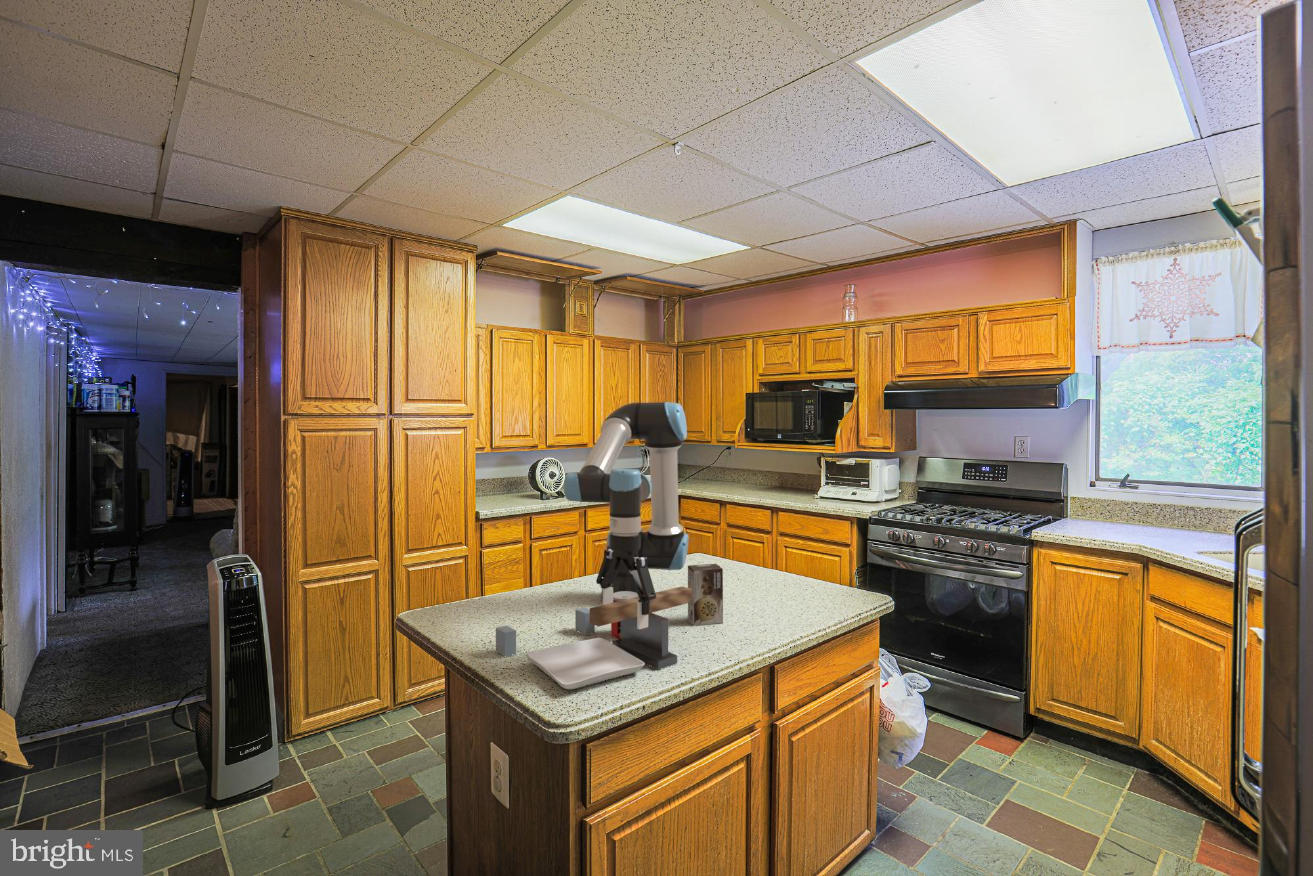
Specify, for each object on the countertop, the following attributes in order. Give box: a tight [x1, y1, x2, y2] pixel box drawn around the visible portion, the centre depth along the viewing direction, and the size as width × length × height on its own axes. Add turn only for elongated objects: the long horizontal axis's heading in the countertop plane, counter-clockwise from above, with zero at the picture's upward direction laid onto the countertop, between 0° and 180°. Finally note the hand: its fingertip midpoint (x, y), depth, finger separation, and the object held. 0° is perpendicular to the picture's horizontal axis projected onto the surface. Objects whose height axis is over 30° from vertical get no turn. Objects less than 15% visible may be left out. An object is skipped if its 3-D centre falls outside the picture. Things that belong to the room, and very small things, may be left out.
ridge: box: [611, 612, 678, 670], centre depth 154 cm, size 6×18×11 cm, turn 41°
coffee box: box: [687, 563, 724, 626], centre depth 181 cm, size 9×6×16 cm
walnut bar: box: [589, 585, 692, 628], centre depth 154 cm, size 30×4×4 cm, turn 131°
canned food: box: [610, 591, 639, 640], centre depth 169 cm, size 8×8×11 cm
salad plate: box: [525, 637, 646, 690], centre depth 145 cm, size 21×21×3 cm
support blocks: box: [495, 607, 596, 657], centre depth 164 cm, size 27×5×6 cm, turn 131°
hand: (624, 620), depth 150 cm, fingers open, 13 cm apart
